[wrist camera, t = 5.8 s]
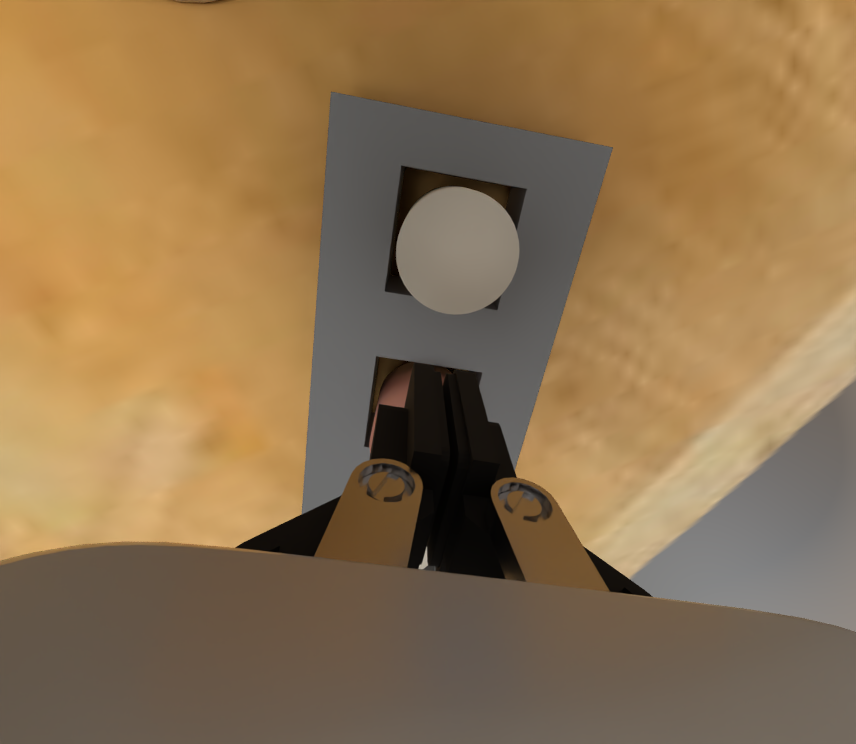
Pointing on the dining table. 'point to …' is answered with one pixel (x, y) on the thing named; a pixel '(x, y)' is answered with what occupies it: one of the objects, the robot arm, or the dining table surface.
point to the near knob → (457, 250)
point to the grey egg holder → (395, 306)
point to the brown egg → (398, 388)
